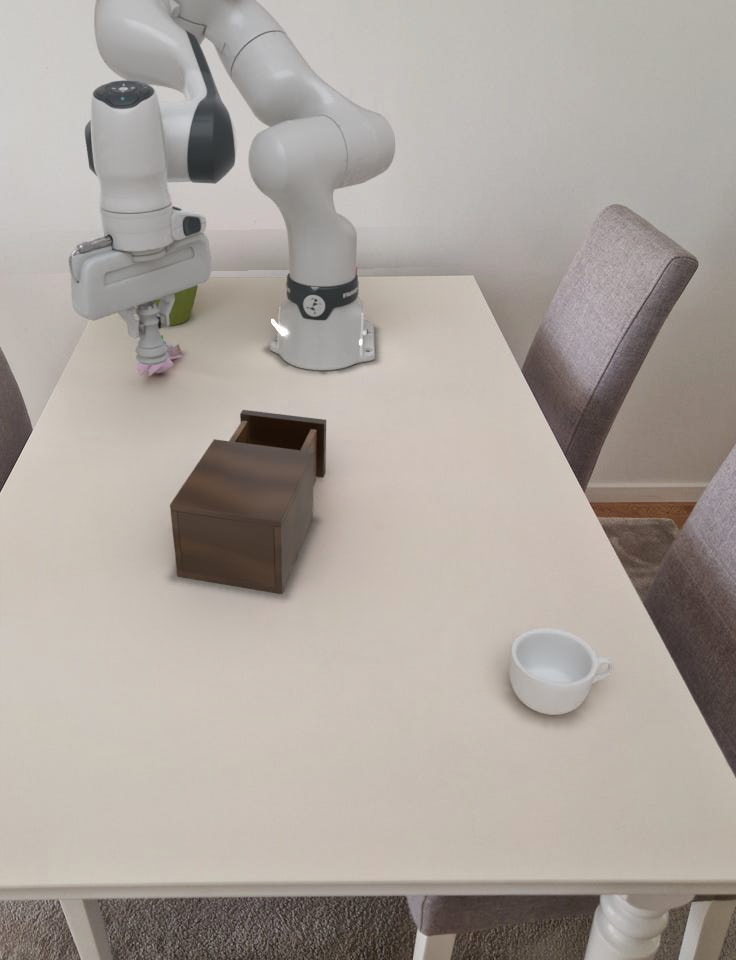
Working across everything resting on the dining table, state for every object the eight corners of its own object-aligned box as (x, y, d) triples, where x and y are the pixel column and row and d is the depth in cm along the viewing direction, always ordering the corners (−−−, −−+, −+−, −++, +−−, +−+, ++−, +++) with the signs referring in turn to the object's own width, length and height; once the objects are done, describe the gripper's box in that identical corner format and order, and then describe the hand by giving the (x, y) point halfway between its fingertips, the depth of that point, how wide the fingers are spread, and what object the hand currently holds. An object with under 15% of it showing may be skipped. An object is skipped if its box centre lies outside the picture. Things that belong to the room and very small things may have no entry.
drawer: (255, 445, 120) (253, 393, 116) (333, 455, 118) (334, 403, 113) (212, 517, 106) (208, 461, 101) (300, 531, 103) (300, 474, 98)
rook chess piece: (134, 354, 116) (127, 299, 112) (166, 350, 117) (161, 295, 113) (137, 368, 112) (131, 311, 108) (171, 364, 113) (165, 307, 109)
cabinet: (218, 506, 109) (213, 438, 104) (312, 520, 106) (313, 451, 101) (177, 576, 98) (169, 504, 92) (282, 594, 95) (280, 521, 89)
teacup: (517, 730, 78) (526, 689, 75) (494, 669, 85) (501, 629, 82) (622, 722, 79) (635, 681, 76) (591, 662, 85) (601, 623, 82)
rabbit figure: (156, 359, 150) (126, 383, 137) (154, 326, 148) (124, 347, 134) (190, 361, 149) (164, 386, 136) (189, 328, 147) (162, 350, 133)
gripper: (82, 253, 97) (98, 362, 104) (216, 214, 109) (221, 315, 117) (52, 241, 101) (69, 348, 108) (184, 205, 113) (192, 303, 120)
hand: (149, 330), depth 112 cm, fingers closed on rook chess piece, 3 cm apart
